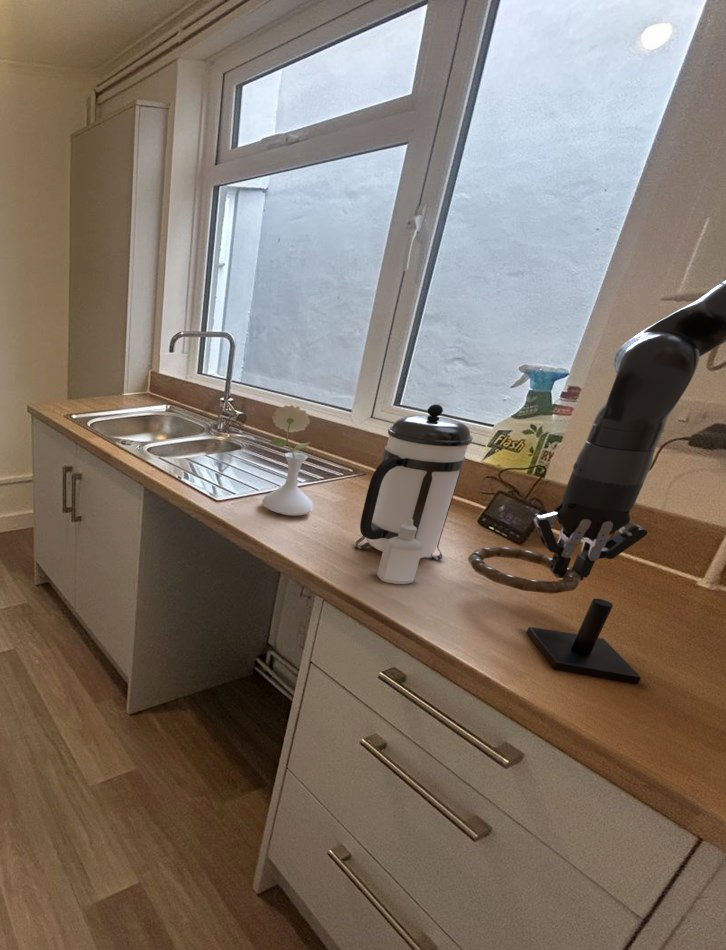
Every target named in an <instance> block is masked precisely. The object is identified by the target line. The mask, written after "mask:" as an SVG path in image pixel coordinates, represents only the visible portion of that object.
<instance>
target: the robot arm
mask: <svg viewBox="0 0 726 950" xmlns="http://www.w3.org/2000/svg"><path fill="white" fill-rule="evenodd" d="M725 343H726V279H725V280H724V281H722V282H721V283H720V284H717V285H716V286H714V287H713V288H712V289H710V290H709V291H708V292H706V293H705V294H704V295H702V296H701V297H699V298H698V299H696V300H695V301H693V302H691V303H690V304H688V305H686V306H683V307H682V308H680V309H678V310H676V311H674V312H673V313H671V314H670V315H668V316H666V317H664V318H662V319H660V320H658V321H657V322H655V323H654V324H652V325H650V326H648V327H646V328H645V329H643V330H642V331H640V332H639V333H637V334H636V335H634V336H632V337H631V338H629V339H628V340H627V341H626V342H625V343H623V344H622V345H621V346H620V347H619V349H618V350H617V351H616V353H615V355H614V357H613V368H614V371H615V372H616V376H615V379H614V381H613V383H612V387H611V389H610V393H609V394H608V397H607V400H606V403H605V404H603V405H602V406H601V407H600V408H599V410H598V411H597V413H596V415H595V417H594V419H593V422H592V424H591V427H590V430H589V433H588V435H587V437H586V441H585V443H584V445H583V446H582V448H581V450H580V452H579V453H578V455H577V457H576V460H575V463H574V464H573V466H572V471H571V474H570V476H569V479H568V482H567V484H566V488H565V490H564V493H563V495H562V500H561V502H560V504H559V505H558V506H556V507H555V508H554V511H552V512H549V513H544V514H540V513H534V514H533V515H532V516H531V519H532V521H533V525H534V527H535V529H536V531H537V534H538V536H539V539H540V541H541V544H542V545H543V547H545V548H546V549H547V550H548V551H549V552H550V553H553V555H552V561H551V564H550V566H549V568H550V569H549V568H548V569H549V571H550V572H551V574H552V575H553V576H554V577H555V578H558V579H563V578H564V575H565V573H566V571H567V568H568V566H570V564H571V560H572V558H571V557H572V556H573V553H574V551H575V550H576V547H577V546H579V545H580V544H581V542H582V540H583V542H582V545H581V549H580V554H579V553H577V555H576V558H575V560H574V563H573V565H572V566H571V568H572V569H573V570H575V571H576V572H577V573H578V574H579V575H580V577H581V580H580V582H582V581H583V580H584V579H586V578H588V577H589V576H590V574H591V572H592V568H593V567H594V564H595V562H596V561H598V560H599V559H606V560H607V559H608V560H613V559H615V558H616V557H618V556H619V555H621V554H622V553H624V552H625V551H626V550H627V549H629V548H630V547H631V546H633V545H635V544H636V543H637V542H639V541H641V540H642V539H643V538H645V537H646V536H647V535H648V533H649V532H648V531H647V529H645V528H643V527H642V526H641V525H639V524H637V523H634V522H631V515H630V511H631V510H633V508H634V506H635V504H636V502H637V500H638V497H639V495H640V493H641V490H642V488H643V485H644V484H645V481H646V478H647V477H648V474H649V472H650V469H651V467H652V463H653V459H654V456H655V455H654V454H655V453H656V452H655V451H656V449H657V447H658V444H659V442H660V440H661V437H662V435H663V434H664V431H665V427H666V425H667V422H668V419H669V416H670V414H671V413H672V411H673V410H674V408H675V407H676V406H677V404H678V403H679V401H680V399H681V398H682V397H683V395H684V393H685V392H686V390H687V388H688V387H689V385H690V384H691V382H692V380H693V377H694V375H695V373H696V370H697V369H698V365H699V362H700V357H703V356H704V355H706V354H708V353H709V352H711V351H713V350H715V349H716V348H718V347H720V346H721V345H723V344H725ZM556 522H558V523H559V525H560V527H561V529H560V531H559V534H558V539H556V537H555V535H554V532H553V528H555V527H556ZM617 531H618V532H617ZM615 532H616V533H615ZM613 533H615V534H613ZM612 534H613V535H612ZM610 535H612V536H611V537H609V536H610Z"/></svg>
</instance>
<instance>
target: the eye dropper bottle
mask: <svg viewBox="0 0 726 950" xmlns="http://www.w3.org/2000/svg"><path fill="white" fill-rule="evenodd" d="M416 531H417V528H416V527H415V526H413V520H412V519H408V521H407V523H406V524H403V525H401V527H400V530H399V534H398V536H397V537H393V538H390V539H388V540H387V541H386V543H385V546H384V550H383V552H382V553H381V558H380V560H379V561H380V562H379V565H378V570H377V573H376V575H377V577H378V578H379V579H380V580H381V581H382V582H384V583H388V584H393V585H394V584H395V585H408V584H411V583H414V580H415V577H416V573H417V570H418V566H419V563H420V560H421V558H420V556H421V553H422V549H423V546H422V544H421V543H420V542H419V541H418V540H416V539H414V538H415V534H416Z"/></svg>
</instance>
